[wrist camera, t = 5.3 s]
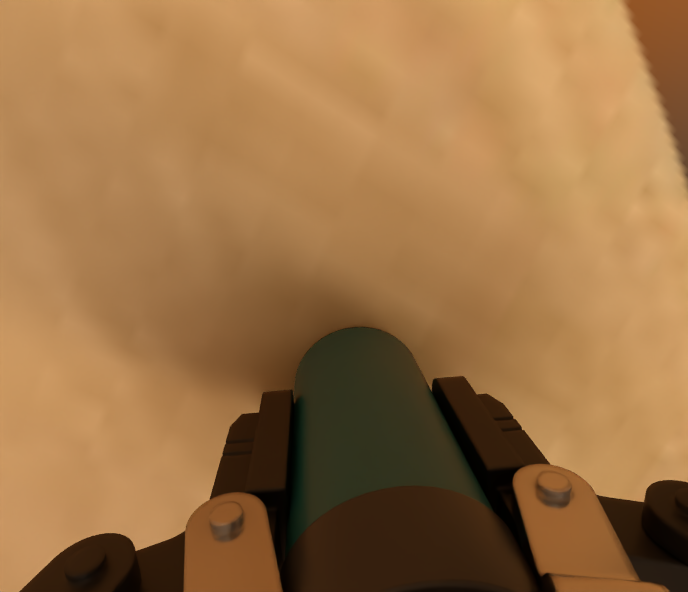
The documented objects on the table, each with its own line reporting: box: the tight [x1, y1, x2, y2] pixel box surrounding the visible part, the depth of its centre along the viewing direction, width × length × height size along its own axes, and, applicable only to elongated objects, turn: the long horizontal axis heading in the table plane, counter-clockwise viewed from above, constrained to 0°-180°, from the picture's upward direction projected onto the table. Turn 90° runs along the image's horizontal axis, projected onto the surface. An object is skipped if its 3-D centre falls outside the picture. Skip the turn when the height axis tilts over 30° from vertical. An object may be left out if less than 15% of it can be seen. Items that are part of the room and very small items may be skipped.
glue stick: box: [279, 327, 541, 592], centre depth 9 cm, size 4×4×8 cm
